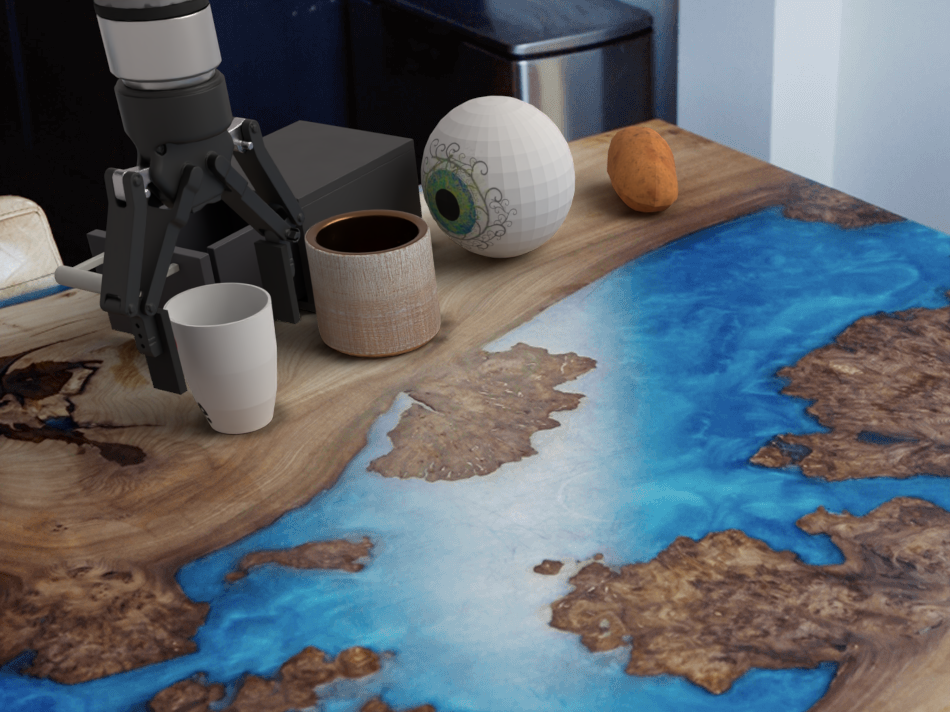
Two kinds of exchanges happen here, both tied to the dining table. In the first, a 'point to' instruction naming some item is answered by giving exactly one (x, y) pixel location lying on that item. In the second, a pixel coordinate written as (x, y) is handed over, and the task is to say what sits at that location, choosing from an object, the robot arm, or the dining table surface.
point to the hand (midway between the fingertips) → (230, 353)
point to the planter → (373, 282)
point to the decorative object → (498, 176)
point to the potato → (642, 169)
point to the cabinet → (341, 176)
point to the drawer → (191, 258)
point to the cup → (228, 353)
